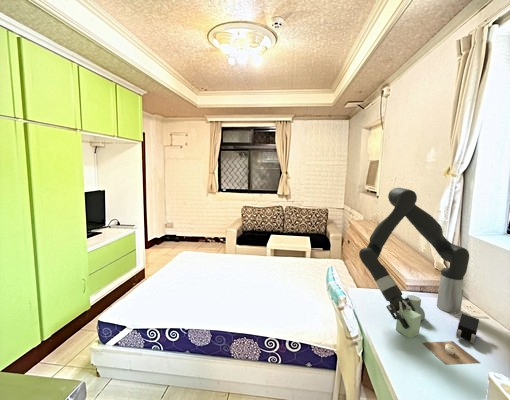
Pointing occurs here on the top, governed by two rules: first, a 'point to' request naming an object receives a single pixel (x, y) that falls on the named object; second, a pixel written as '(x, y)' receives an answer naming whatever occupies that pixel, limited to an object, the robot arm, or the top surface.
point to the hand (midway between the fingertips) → (412, 325)
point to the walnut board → (447, 359)
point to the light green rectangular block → (409, 323)
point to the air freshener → (416, 305)
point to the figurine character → (467, 328)
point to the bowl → (449, 349)
